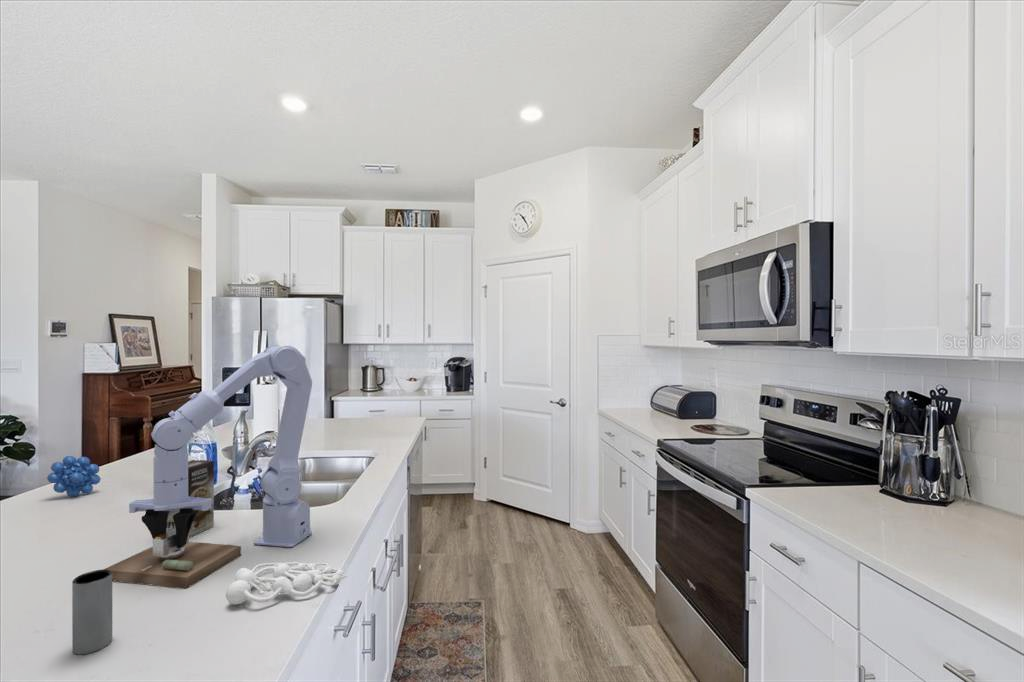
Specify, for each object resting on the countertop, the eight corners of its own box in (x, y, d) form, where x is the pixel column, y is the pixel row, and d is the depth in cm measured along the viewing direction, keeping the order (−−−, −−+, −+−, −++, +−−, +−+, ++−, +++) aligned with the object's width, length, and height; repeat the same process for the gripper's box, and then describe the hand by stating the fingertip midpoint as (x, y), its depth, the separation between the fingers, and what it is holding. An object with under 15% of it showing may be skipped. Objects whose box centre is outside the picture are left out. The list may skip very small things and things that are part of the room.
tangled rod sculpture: (346, 569, 101) (347, 548, 101) (345, 598, 87) (346, 574, 88) (240, 580, 95) (241, 558, 95) (221, 613, 81) (222, 587, 82)
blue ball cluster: (49, 504, 135) (49, 461, 135) (45, 499, 140) (45, 457, 140) (103, 494, 144) (103, 453, 144) (98, 490, 149) (98, 450, 149)
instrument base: (240, 555, 104) (240, 538, 104) (186, 588, 90) (186, 568, 90) (166, 549, 107) (166, 532, 107) (103, 580, 93) (103, 561, 93)
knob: (174, 548, 102) (174, 524, 102) (193, 549, 101) (193, 526, 101) (148, 560, 96) (148, 536, 96) (167, 562, 95) (167, 537, 95)
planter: (65, 650, 72) (65, 580, 72) (100, 633, 76) (100, 567, 76) (84, 658, 70) (84, 586, 70) (119, 639, 75) (119, 572, 75)
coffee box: (183, 541, 111) (183, 469, 111) (159, 538, 112) (159, 468, 112) (215, 526, 120) (215, 460, 120) (192, 524, 121) (192, 458, 121)
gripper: (118, 485, 94) (118, 556, 94) (198, 483, 95) (198, 553, 95) (142, 475, 101) (142, 541, 101) (216, 473, 102) (216, 539, 102)
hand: (171, 546), depth 99 cm, fingers closed on knob, 3 cm apart
